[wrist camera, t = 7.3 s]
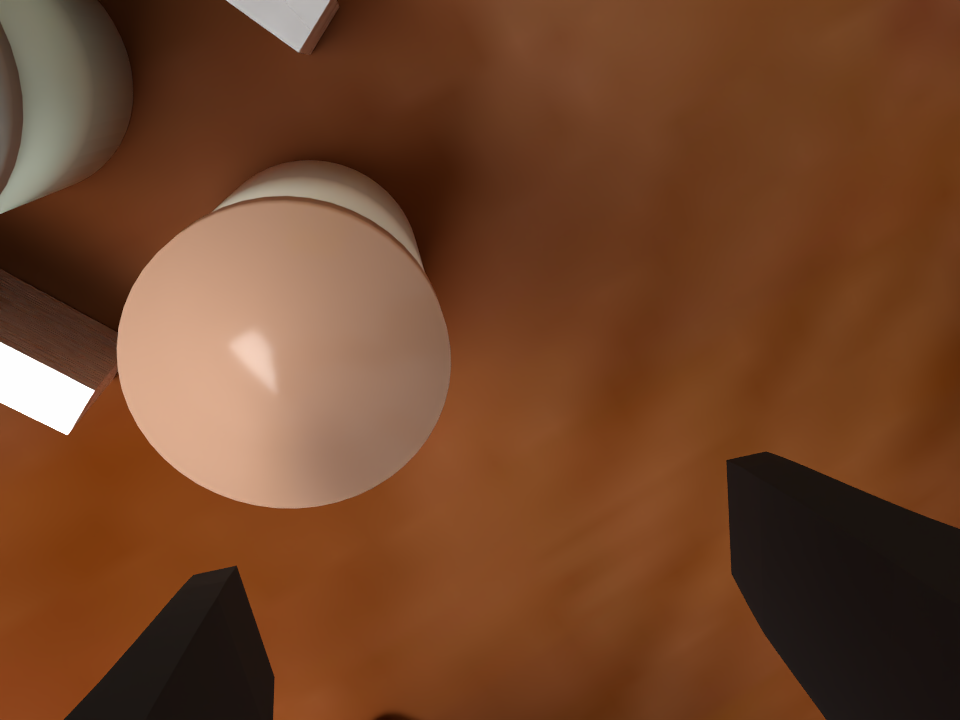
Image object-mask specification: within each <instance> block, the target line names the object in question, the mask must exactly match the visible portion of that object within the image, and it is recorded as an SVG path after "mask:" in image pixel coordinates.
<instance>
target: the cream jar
mask: <svg viewBox="0 0 960 720" xmlns="http://www.w3.org/2000/svg"><path fill="white" fill-rule="evenodd" d="M117 364H118V373H119V378H120V382H121V387H122V391H123V394H124V396H125V399H126V402H127V405H128V407H129V410H130V412H131V414H132V415H133V417H134V419H135V421H136V423H137V425H138V427H139V428H140V430H141V431H142V433H143V434H144V435H145V437H146V438H147V440H148V441H149V442H150V444H151V445H152V446H153V447H154V448H155V449H156V450H157V451H158V452H159V454H160V455H161V456H162V457H163V458H164V459H165V460H166V461H167V462H169V463H170V464H171V465H172V466H173V467H175V468H176V469H177V470H178V471H179V472H180V473H182V474H184V475H185V476H187V477H188V478H190V479H191V480H193V481H194V482H196V483H197V484H199V485H201V486H203V487H205V488H207V489H209V490H211V491H213V492H215V493H217V494H220V495H222V496H225V497H228V498H231V499H233V500H236V501H240V502H244V503H248V504H252V505H257V506H265V507H273V508H305V507H316V506H321V505H326V504H331V503H336V502H339V501H342V500H345V499H348V498H351V497H354V496H356V495H359V494H361V493H363V492H365V491H367V490H369V489H372V488H373V487H375V486H377V485H378V484H380V483H382V482H383V481H385V480H386V479H388V478H389V477H391V476H392V475H393V474H395V473H396V472H397V471H398V470H400V469H401V468H402V467H403V466H404V465H405V464H406V463H407V462H408V461H409V460H410V459H411V458H412V457H413V456H414V455H415V454H416V453H417V452H418V451H419V449H420V448H421V447H422V445H423V444H424V443H425V441H426V440H427V439H428V437H429V435H430V434H431V432H432V430H433V428H434V427H435V425H436V423H437V421H438V419H439V416H440V414H441V411H442V409H443V406H444V404H445V400H446V396H447V391H448V387H449V381H450V371H451V353H450V343H449V337H448V331H447V327H446V323H445V320H444V317H443V314H442V310H441V307H440V304H439V301H438V298H437V295H436V293H435V291H434V289H433V287H432V285H431V283H430V280H429V278H428V277H427V275H426V274H425V271H424V268H423V264H422V261H421V257H420V254H419V250H418V247H417V243H416V240H415V237H414V234H413V231H412V228H411V226H410V224H409V222H408V219H407V217H406V216H405V214H404V212H403V211H402V209H401V208H400V206H399V205H398V204H397V202H396V201H395V200H394V199H393V198H392V196H391V195H390V194H389V193H388V192H387V191H386V190H384V189H383V188H382V187H381V186H380V185H379V184H377V183H376V182H375V181H373V180H372V179H370V178H369V177H367V176H366V175H364V174H362V173H360V172H358V171H356V170H354V169H351V168H349V167H346V166H343V165H340V164H336V163H331V162H327V161H317V160H301V161H293V162H287V163H282V164H279V165H276V166H273V167H270V168H268V169H266V170H264V171H261V172H259V173H257V174H256V175H254V176H253V177H251V178H250V179H248V180H247V181H245V182H244V183H243V184H242V185H241V186H240V187H239V188H237V189H236V190H235V191H234V192H233V193H232V194H231V195H230V196H229V197H228V198H227V199H225V200H224V201H223V202H222V203H221V204H220V205H219V206H218V207H217V208H216V209H215V210H214V211H213V212H211V213H209V214H207V215H205V216H203V217H201V218H200V219H198V220H197V221H195V222H194V223H192V224H191V225H189V226H188V227H186V228H185V229H184V230H183V231H181V232H180V233H179V234H178V235H177V236H176V237H175V238H173V239H172V240H171V241H170V242H169V243H168V244H167V245H166V246H164V247H163V248H162V249H161V250H160V251H159V252H158V253H157V254H156V255H155V256H154V257H153V258H152V260H151V261H150V262H149V263H148V264H147V266H146V267H145V268H144V269H143V271H142V272H141V274H140V275H139V277H138V279H137V280H136V282H135V284H134V285H133V287H132V289H131V291H130V293H129V296H128V298H127V301H126V303H125V305H124V308H123V312H122V316H121V320H120V324H119V328H118V339H117Z"/></svg>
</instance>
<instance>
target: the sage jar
mask: <svg viewBox="0 0 960 720" xmlns="http://www.w3.org/2000/svg"><path fill="white" fill-rule="evenodd" d="M132 105H133V80H132V71H131V66H130V62H129V58H128V54H127V51H126V49H125V46H124V43H123V41H122V38H121V36H120V34H119V32H118V30H117V28H116V26H115V24H114V22H113V21H112V19H111V18H110V16H109V15H108V13H107V12H106V10H105V9H104V7H103V6H102V5H101V4H100V2H99V1H98V0H0V214H1V213H4V212H6V211H9V210H11V209H14V208H16V207H19V206H21V205H24V204H26V203H29V202H31V201H34V200H36V199H39V198H41V197H44V196H46V195H49V194H51V193H54V192H56V191H59V190H61V189H64V188H66V187H69V186H71V185H74V184H76V183H79V182H81V181H82V180H84V179H86V178H88V177H89V176H91V175H93V174H94V173H95V172H96V171H98V170H99V169H100V168H101V167H102V166H104V164H105V163H106V162H107V161H108V160H109V159H110V158H111V157H112V156H113V154H114V153H115V151H116V150H117V148H118V147H119V145H120V144H121V142H122V139H123V137H124V135H125V133H126V131H127V128H128V124H129V121H130V118H131V112H132Z"/></svg>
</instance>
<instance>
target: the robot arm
mask: <svg viewBox="0 0 960 720" xmlns="http://www.w3.org/2000/svg"><path fill="white" fill-rule="evenodd" d="M727 482H728V504H729V527H730V549H731V571H732V575H733V577H734V579H735V581H736V583H737V585H738V587H739V589H740V591H741V593H742V594H743V596H744V598H745V600H746V602H747V604H748V606H749V608H750V609H751V611H752V613H753V615H754V616H755V618H756V620H757V622H758V624H759V625H760V627H761V629H762V631H763V632H764V634H765V635H766V637H767V638H768V640H769V641H770V642H771V644H772V645H773V647H774V648H775V649H776V651H777V652H778V654H779V655H780V656H781V658H782V659H783V661H784V662H785V663H786V665H787V666H788V668H789V669H790V670H791V672H792V673H793V675H794V676H795V677H796V679H797V680H798V681H799V683H800V684H801V685H802V687H803V688H804V690H805V691H806V692H807V694H808V695H809V696H810V698H811V699H812V701H813V702H814V703H815V705H816V706H817V707H818V709H819V710H820V711H821V713H822V714H823V716H824V717H825V718H826V720H960V529H958V528H955V527H953V526H950V525H947V524H944V523H941V522H939V521H936V520H933V519H931V518H928V517H925V516H923V515H920V514H918V513H915V512H913V511H910V510H907V509H905V508H903V507H900V506H898V505H895V504H893V503H890V502H888V501H885V500H883V499H880V498H878V497H876V496H873V495H871V494H868V493H866V492H864V491H861V490H859V489H857V488H854V487H852V486H850V485H847V484H845V483H843V482H840V481H838V480H836V479H833V478H831V477H829V476H826V475H824V474H822V473H819V472H817V471H815V470H812V469H810V468H808V467H805V466H803V465H800V464H798V463H796V462H793V461H791V460H788V459H786V458H783V457H780V456H778V455H775V454H772V453H769V452H762V453H757V454H753V455H748V456H744V457H739V458H734V459H730V460H727ZM273 703H274V675H273V672H272V669H271V666H270V663H269V660H268V657H267V654H266V651H265V648H264V645H263V642H262V639H261V636H260V633H259V630H258V627H257V624H256V621H255V619H254V616H253V613H252V610H251V607H250V604H249V601H248V598H247V595H246V592H245V589H244V586H243V583H242V580H241V577H240V574H239V571H238V568H237V566H233V567H229V568H224V569H219V570H215V571H210V572H205V573H201V574H196V575H193V576H192V577H191V578H190V579H189V580H188V581H187V582H186V583H185V584H184V585H183V587H182V588H181V589H180V590H179V591H178V592H177V593H176V594H175V596H174V597H173V598H172V599H171V600H170V601H169V602H168V604H167V605H166V606H165V607H164V608H163V609H162V611H161V612H160V613H159V614H158V615H157V616H156V618H155V619H154V620H153V621H152V622H151V623H150V625H149V626H148V627H147V628H146V629H145V630H144V632H143V633H142V634H141V635H140V636H139V637H138V639H137V640H136V641H135V642H134V643H133V644H132V645H131V647H130V648H129V649H128V650H127V651H126V652H125V653H124V655H123V656H122V657H121V658H120V659H119V660H118V661H117V663H116V664H115V665H114V666H113V667H112V668H111V669H110V671H109V672H108V673H107V674H106V675H105V676H104V677H103V679H102V680H101V681H100V682H99V683H98V684H97V685H96V686H95V687H94V688H93V689H92V690H91V691H90V693H89V694H88V695H87V696H86V697H85V698H84V699H83V700H82V701H81V702H80V703H79V704H78V705H77V706H76V707H75V708H74V709H73V710H72V711H71V713H70V714H69V715H68V716H67V717H66V718H65V719H64V720H273Z"/></svg>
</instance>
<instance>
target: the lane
mask: <svg viewBox="0 0 960 720" xmlns="http://www.w3.org/2000/svg"><path fill="white" fill-rule="evenodd" d="M226 1H228V2H229V3H230V4H232V5H233V6H235V7H236V8H237V9H239V10H240V11H242V12H243V13H244V14H246V15H247V16H249V17H250V18H251V19H253V20H254V21H255V22H257V23H258V24H260V25H261V26H262V27H264V28H265V29H267V30H268V31H269V32H271V33H272V34H274V35H275V36H276V37H278V38H279V39H280V40H282V41H283V42H285V43H286V44H287V45H289V46H290V47H292V48H293V49H294V50H296V51H297V52H299V53H303V54H308V55H310V54H311V53H312V51H313V49H314V48H315V46H316V44H317V43H318V41H319V39H320V38H321V36H322V34H323V33H324V31H325V30H326V28H327V26H328V25H329V23H330V21H331V20H332V18H333V16H334V15H335V13H336V11H337V10H338V8H339V5H338V2H337V0H226ZM117 339H118V332H116V331H114V330H112V329H110V328H108V327H107V326H105V325H103V324H101V323H99V322H97V321H96V320H94V319H92V318H90V317H88V316H86V315H85V314H83V313H81V312H79V311H77V310H75V309H74V308H72V307H70V306H68V305H66V304H64V303H62V302H61V301H59V300H57V299H55V298H53V297H51V296H50V295H48V294H46V293H44V292H42V291H40V290H39V289H37V288H35V287H33V286H31V285H29V284H28V283H26V282H24V281H22V280H20V279H18V278H16V277H15V276H13V275H11V274H9V273H7V272H5V271H4V270H2V269H0V402H1V403H3V404H5V405H7V406H9V407H11V408H13V409H15V410H17V411H20V412H22V413H24V414H26V415H28V416H30V417H32V418H34V419H36V420H38V421H40V422H42V423H44V424H46V425H48V426H50V427H52V428H54V429H56V430H58V431H60V432H62V433H65V434H67V435H68V434H69V433H70V431H71V430H72V429H73V428H74V427H75V425H76V424H77V423H78V422H79V420H80V419H81V418H82V417H83V416H84V414H85V413H86V412H87V411H88V409H89V408H90V407H91V406H92V405H93V403H94V402H95V401H96V400H97V398H98V397H99V396H100V395H101V393H102V392H103V391H104V390H105V389H106V387H107V386H108V385H109V384H110V382H111V381H112V380H113V378H114V377H115V375H116V373H117V372H118V364H117Z"/></svg>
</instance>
